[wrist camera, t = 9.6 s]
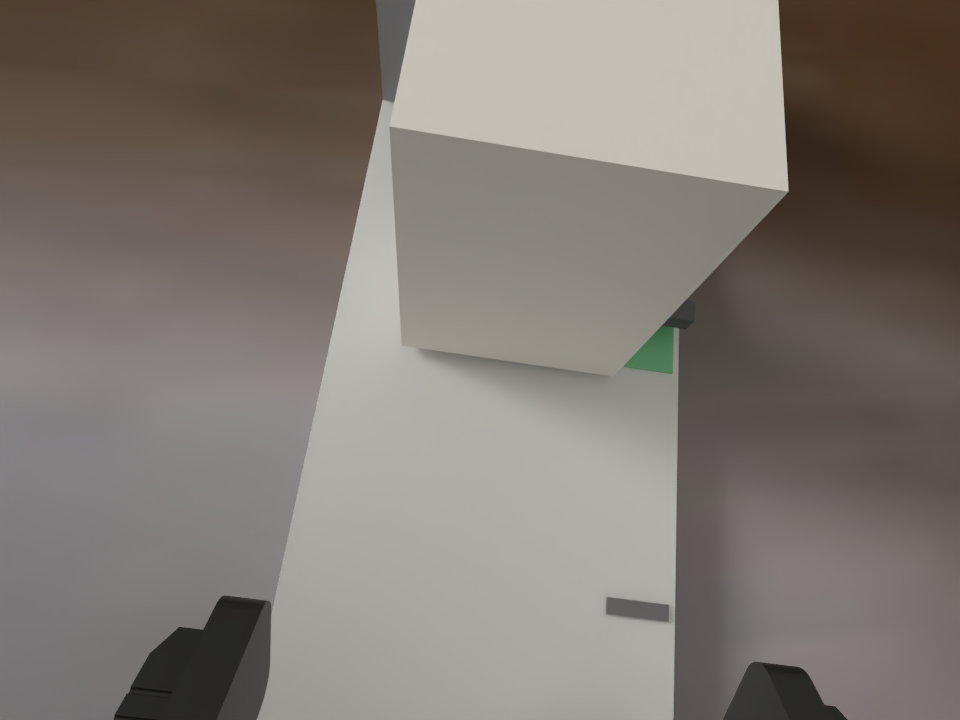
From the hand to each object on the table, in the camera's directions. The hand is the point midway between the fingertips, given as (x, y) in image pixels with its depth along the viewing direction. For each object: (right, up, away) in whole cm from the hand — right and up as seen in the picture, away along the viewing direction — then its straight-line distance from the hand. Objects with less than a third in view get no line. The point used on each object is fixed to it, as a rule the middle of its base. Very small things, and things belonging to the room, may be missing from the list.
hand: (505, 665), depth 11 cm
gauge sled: (+2, +7, +8) cm, 11 cm away
